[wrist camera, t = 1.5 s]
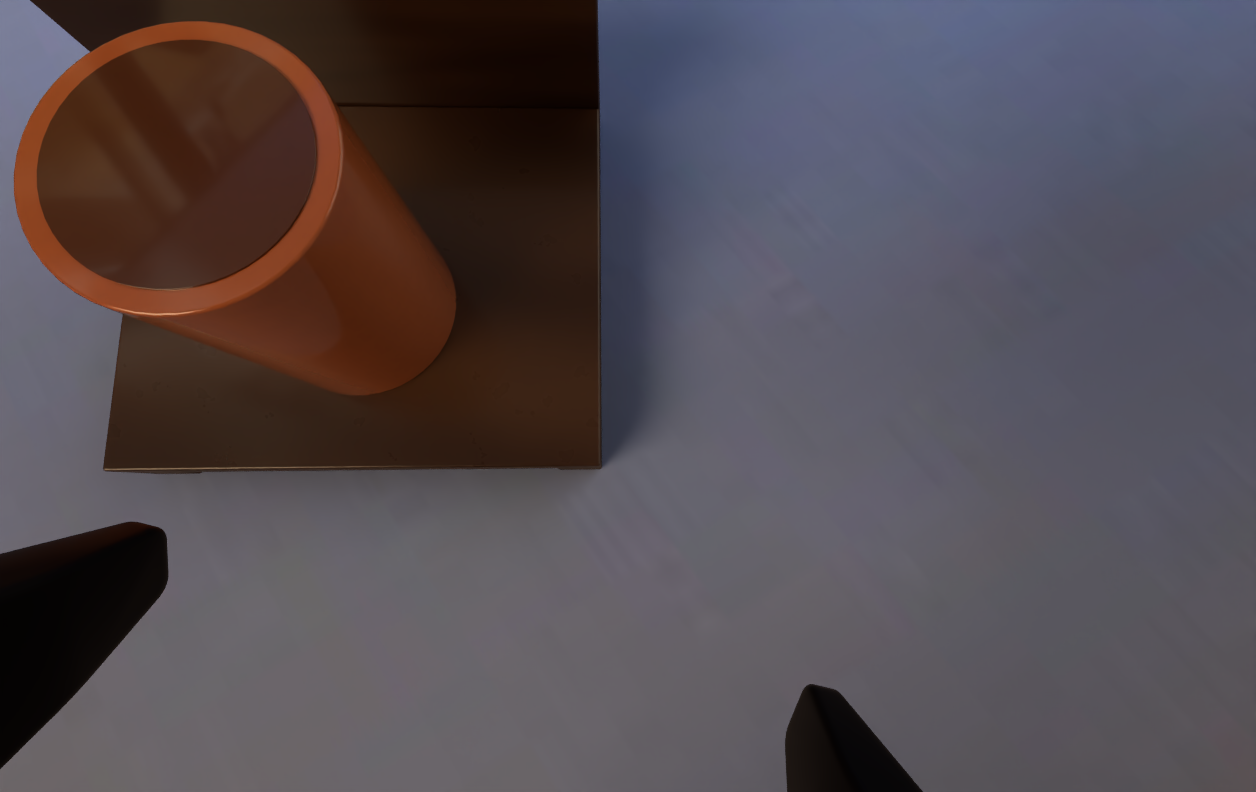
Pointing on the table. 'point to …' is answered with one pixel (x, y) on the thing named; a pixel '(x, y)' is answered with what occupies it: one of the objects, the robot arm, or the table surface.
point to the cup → (231, 209)
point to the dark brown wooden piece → (451, 217)
